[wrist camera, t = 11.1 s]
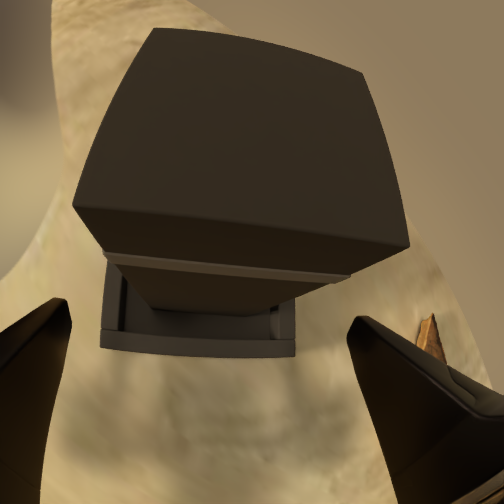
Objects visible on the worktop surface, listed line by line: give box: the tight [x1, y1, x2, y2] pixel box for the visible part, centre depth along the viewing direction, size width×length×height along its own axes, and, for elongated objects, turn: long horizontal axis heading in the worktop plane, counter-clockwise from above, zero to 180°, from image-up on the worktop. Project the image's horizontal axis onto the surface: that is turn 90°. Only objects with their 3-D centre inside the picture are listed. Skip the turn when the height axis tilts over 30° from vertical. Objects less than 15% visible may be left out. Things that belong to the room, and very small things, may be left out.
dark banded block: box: [72, 28, 410, 317], centre depth 11 cm, size 5×6×13 cm
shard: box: [417, 313, 447, 364], centre depth 18 cm, size 11×8×2 cm
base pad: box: [100, 261, 295, 358], centre depth 16 cm, size 10×10×2 cm
